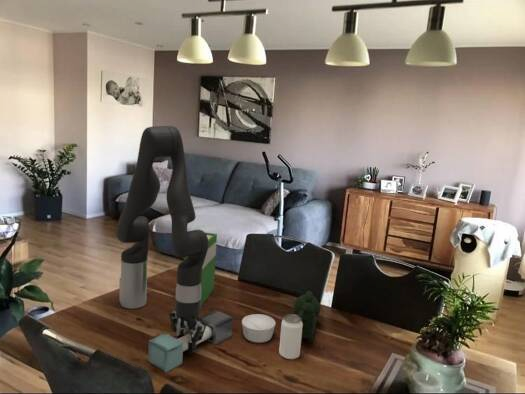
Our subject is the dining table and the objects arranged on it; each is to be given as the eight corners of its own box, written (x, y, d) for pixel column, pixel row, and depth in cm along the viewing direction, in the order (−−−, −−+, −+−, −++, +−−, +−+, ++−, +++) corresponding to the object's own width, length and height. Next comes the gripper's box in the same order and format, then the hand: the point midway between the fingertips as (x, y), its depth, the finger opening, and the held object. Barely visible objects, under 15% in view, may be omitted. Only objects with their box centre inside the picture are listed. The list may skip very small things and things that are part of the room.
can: (298, 361, 126) (302, 324, 124) (277, 357, 128) (280, 321, 125) (300, 350, 133) (304, 315, 131) (280, 347, 134) (283, 312, 132)
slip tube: (166, 353, 124) (166, 340, 123) (217, 327, 141) (217, 316, 140) (175, 359, 121) (176, 346, 121) (226, 332, 139) (226, 320, 138)
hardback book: (200, 306, 158) (203, 245, 154) (181, 304, 159) (184, 243, 155) (213, 289, 175) (216, 233, 171) (196, 286, 176) (199, 231, 172)
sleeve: (198, 336, 137) (199, 317, 136) (215, 327, 143) (216, 309, 142) (215, 344, 132) (216, 325, 131) (231, 335, 139) (233, 317, 138)
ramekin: (235, 339, 136) (236, 324, 136) (248, 325, 147) (249, 311, 146) (267, 348, 133) (269, 332, 132) (278, 332, 143) (279, 318, 142)
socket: (148, 361, 121) (148, 340, 120) (164, 353, 126) (165, 333, 124) (166, 372, 116) (166, 350, 115) (182, 363, 121) (183, 342, 120)
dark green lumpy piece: (318, 355, 134) (318, 314, 158) (324, 302, 129) (323, 268, 153) (289, 351, 135) (293, 311, 159) (293, 298, 130) (297, 265, 154)
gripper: (162, 292, 125) (160, 345, 128) (196, 308, 117) (193, 363, 120) (181, 286, 131) (179, 336, 134) (214, 300, 123) (211, 353, 126)
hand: (186, 349), depth 127 cm, fingers closed on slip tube, 4 cm apart
